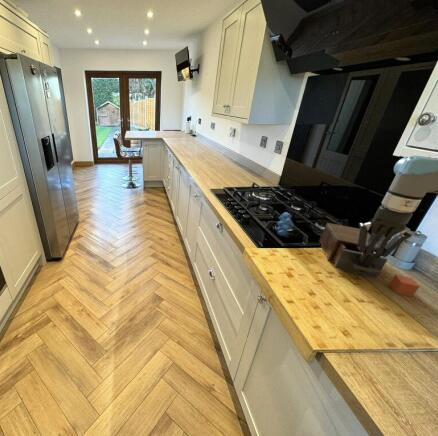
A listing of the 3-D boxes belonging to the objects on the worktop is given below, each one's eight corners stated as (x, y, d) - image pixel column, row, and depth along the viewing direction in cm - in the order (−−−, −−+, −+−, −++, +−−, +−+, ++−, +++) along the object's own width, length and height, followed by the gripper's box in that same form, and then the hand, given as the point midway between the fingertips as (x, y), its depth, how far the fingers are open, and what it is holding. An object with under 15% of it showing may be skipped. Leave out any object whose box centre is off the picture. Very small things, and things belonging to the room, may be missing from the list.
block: (404, 288, 81) (412, 277, 79) (412, 297, 77) (420, 286, 75) (388, 284, 82) (395, 274, 80) (394, 292, 78) (402, 282, 76)
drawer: (383, 287, 79) (395, 268, 76) (339, 276, 83) (348, 258, 80) (360, 256, 96) (370, 239, 92) (324, 248, 100) (332, 232, 96)
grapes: (293, 243, 104) (302, 219, 98) (276, 240, 105) (285, 216, 100) (286, 231, 114) (295, 208, 109) (271, 228, 115) (279, 206, 110)
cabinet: (370, 270, 89) (383, 248, 84) (327, 260, 93) (337, 239, 89) (355, 249, 102) (365, 229, 98) (318, 241, 106) (327, 222, 102)
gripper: (375, 208, 71) (342, 270, 81) (432, 217, 66) (389, 282, 77) (365, 200, 77) (336, 259, 87) (417, 208, 73) (379, 268, 83)
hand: (361, 269), depth 82 cm, fingers closed
